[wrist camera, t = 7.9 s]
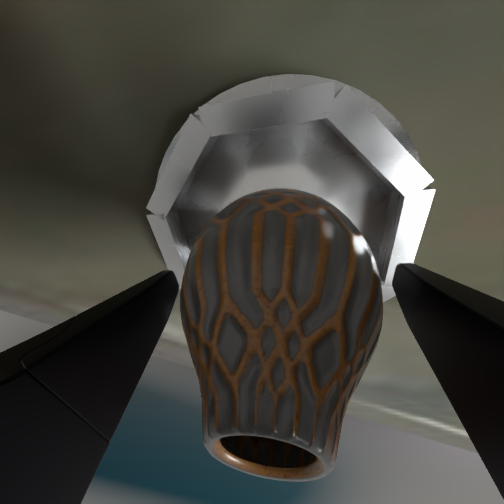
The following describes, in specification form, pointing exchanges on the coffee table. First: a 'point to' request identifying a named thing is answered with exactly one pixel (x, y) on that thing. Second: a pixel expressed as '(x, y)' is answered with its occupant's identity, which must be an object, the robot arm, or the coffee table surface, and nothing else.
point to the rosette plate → (294, 165)
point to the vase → (279, 330)
